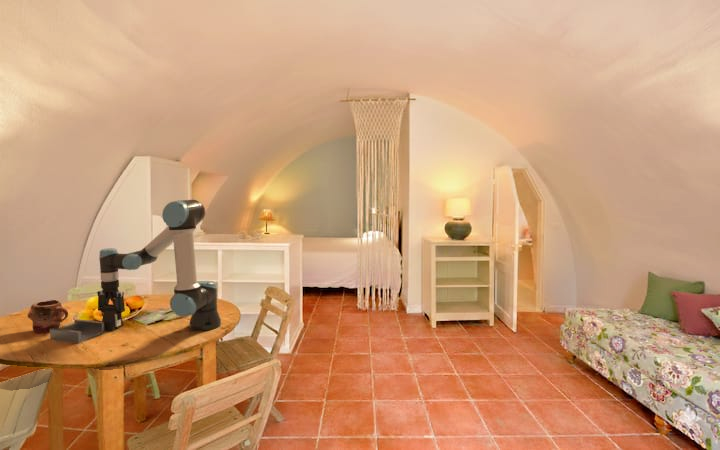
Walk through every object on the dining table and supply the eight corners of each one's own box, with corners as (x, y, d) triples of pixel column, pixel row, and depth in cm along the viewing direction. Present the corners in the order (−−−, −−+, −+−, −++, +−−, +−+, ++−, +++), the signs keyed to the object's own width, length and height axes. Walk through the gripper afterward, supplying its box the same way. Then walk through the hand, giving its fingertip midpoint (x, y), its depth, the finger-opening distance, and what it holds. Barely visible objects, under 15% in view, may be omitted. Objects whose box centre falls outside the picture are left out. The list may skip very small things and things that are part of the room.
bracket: (104, 332, 196) (104, 322, 195) (78, 343, 182) (77, 332, 182) (77, 329, 200) (77, 319, 199) (50, 339, 186) (49, 329, 185)
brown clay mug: (79, 326, 203) (77, 299, 202) (61, 335, 191) (59, 307, 190) (40, 325, 203) (38, 298, 202) (19, 334, 191) (17, 306, 190)
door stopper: (112, 331, 197) (111, 307, 196) (100, 331, 197) (99, 307, 196) (123, 325, 206) (122, 302, 205) (112, 324, 206) (111, 301, 205)
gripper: (132, 279, 200) (134, 324, 203) (100, 276, 205) (102, 320, 207) (120, 283, 193) (122, 329, 196) (87, 280, 197) (89, 325, 200)
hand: (112, 325), depth 201 cm, fingers closed on door stopper, 6 cm apart
